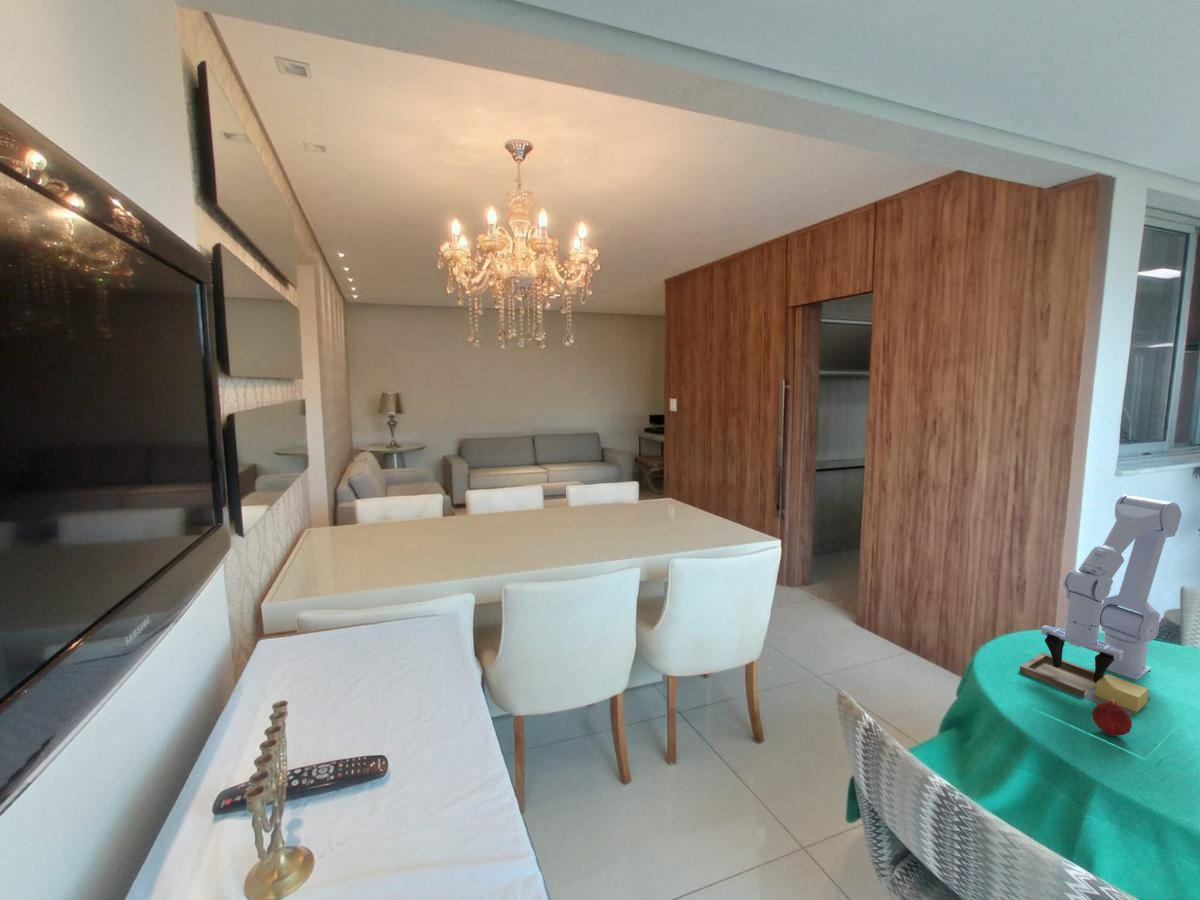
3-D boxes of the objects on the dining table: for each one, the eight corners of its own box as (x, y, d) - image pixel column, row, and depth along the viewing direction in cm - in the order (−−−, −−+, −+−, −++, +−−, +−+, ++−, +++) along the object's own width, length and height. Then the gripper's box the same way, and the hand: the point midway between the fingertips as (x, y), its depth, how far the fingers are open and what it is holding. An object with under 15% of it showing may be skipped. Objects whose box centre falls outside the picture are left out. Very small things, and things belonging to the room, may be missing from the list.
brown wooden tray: (1042, 658, 136) (1042, 652, 136) (1103, 681, 125) (1104, 674, 125) (1019, 672, 130) (1019, 665, 130) (1082, 698, 119) (1082, 691, 119)
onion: (1137, 746, 104) (1142, 710, 103) (1103, 743, 105) (1108, 707, 104) (1115, 727, 110) (1119, 692, 108) (1083, 724, 111) (1087, 690, 110)
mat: (1104, 681, 125) (1104, 680, 125) (1150, 699, 118) (1150, 698, 118) (1082, 698, 119) (1082, 697, 119) (1130, 717, 112) (1130, 716, 112)
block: (1105, 687, 123) (1107, 673, 122) (1146, 703, 117) (1148, 689, 116) (1095, 695, 120) (1096, 681, 119) (1136, 712, 114) (1138, 697, 113)
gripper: (1037, 613, 127) (1032, 664, 129) (1117, 638, 115) (1110, 694, 117) (1050, 606, 131) (1045, 656, 133) (1129, 630, 118) (1122, 685, 120)
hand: (1076, 673), depth 125 cm, fingers open, 7 cm apart
